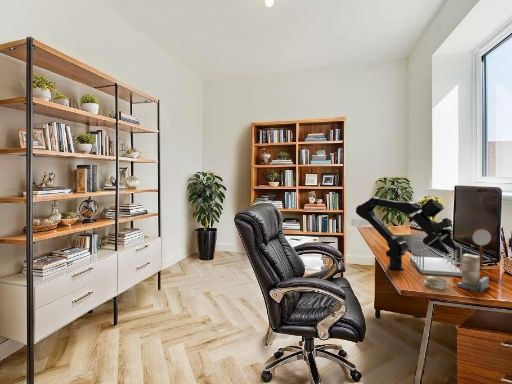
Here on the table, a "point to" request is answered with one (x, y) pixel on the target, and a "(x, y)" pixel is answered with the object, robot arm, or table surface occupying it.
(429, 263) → the file sorter
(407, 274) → the table surface
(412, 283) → the table surface
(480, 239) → the magnifying glass
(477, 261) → the cream upright block
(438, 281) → the offcut stack
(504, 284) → the table surface
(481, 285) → the rack
